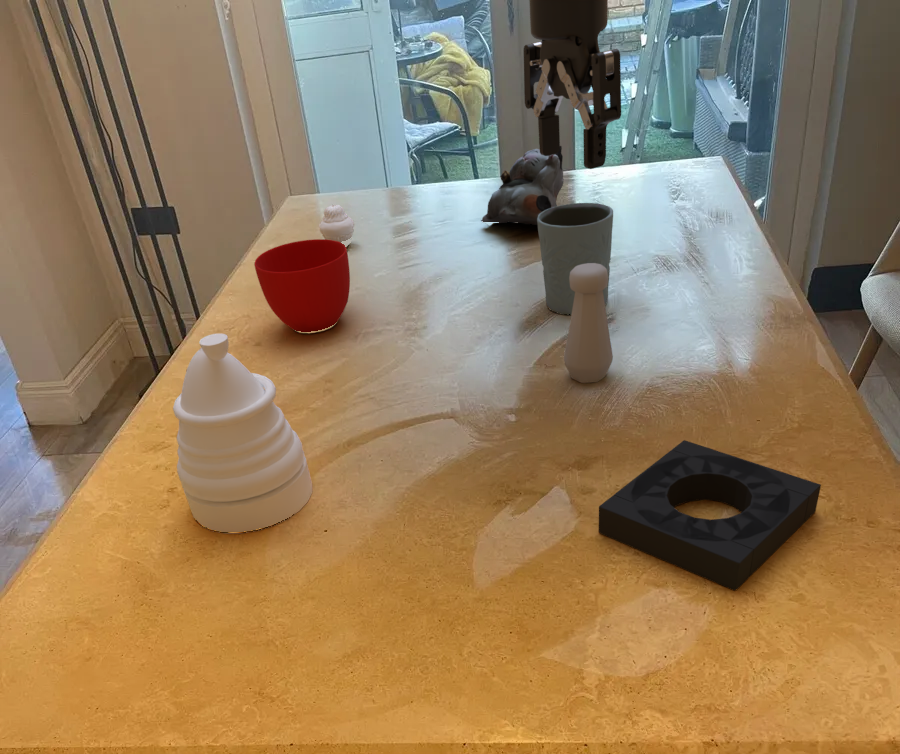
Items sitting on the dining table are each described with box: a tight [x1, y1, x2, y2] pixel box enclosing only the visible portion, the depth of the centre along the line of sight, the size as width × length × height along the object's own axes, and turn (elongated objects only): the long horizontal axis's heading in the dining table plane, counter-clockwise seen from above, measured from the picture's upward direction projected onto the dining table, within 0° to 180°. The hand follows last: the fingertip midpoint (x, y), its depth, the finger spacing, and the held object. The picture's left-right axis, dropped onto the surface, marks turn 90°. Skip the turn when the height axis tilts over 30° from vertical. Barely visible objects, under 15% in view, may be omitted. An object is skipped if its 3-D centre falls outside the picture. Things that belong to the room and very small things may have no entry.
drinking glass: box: [537, 202, 614, 316], centre depth 116 cm, size 10×10×12 cm
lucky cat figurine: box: [480, 145, 565, 226], centre depth 144 cm, size 15×12×14 cm
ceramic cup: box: [254, 238, 351, 332], centre depth 122 cm, size 13×17×10 cm
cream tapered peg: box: [563, 263, 614, 384], centre depth 98 cm, size 6×6×13 cm
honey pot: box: [172, 332, 313, 532], centre depth 84 cm, size 13×13×18 cm
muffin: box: [318, 204, 355, 242], centre depth 147 cm, size 6×6×7 cm
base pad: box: [598, 439, 822, 591], centre depth 77 cm, size 14×14×3 cm
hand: (571, 160), depth 91 cm, fingers open, 8 cm apart
